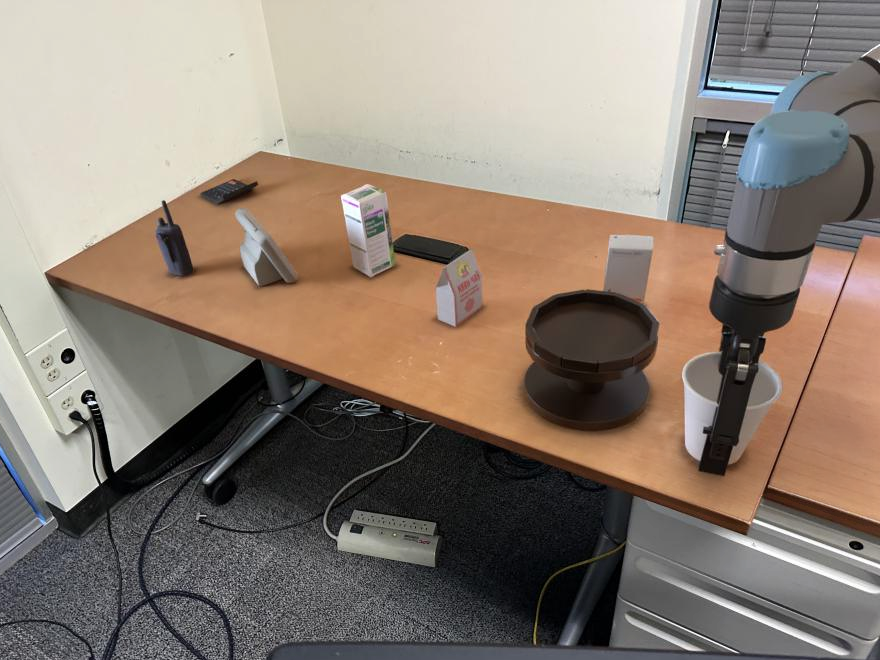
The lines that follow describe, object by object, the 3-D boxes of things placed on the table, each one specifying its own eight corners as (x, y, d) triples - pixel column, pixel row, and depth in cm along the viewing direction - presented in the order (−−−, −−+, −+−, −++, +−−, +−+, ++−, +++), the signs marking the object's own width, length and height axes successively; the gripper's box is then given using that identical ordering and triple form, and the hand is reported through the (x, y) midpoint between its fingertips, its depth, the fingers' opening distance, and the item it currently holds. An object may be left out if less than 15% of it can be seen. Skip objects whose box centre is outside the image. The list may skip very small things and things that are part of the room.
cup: (671, 476, 79) (687, 405, 72) (664, 418, 87) (677, 349, 80) (766, 484, 77) (792, 411, 70) (750, 423, 84) (772, 352, 77)
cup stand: (654, 363, 95) (666, 296, 88) (639, 442, 84) (651, 372, 77) (538, 347, 101) (541, 283, 94) (511, 418, 90) (511, 351, 83)
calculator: (234, 182, 166) (231, 170, 164) (260, 193, 158) (257, 181, 156) (201, 196, 161) (197, 184, 160) (226, 208, 154) (223, 196, 152)
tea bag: (437, 319, 110) (433, 264, 104) (464, 300, 113) (462, 246, 107) (455, 326, 108) (452, 271, 101) (482, 307, 111) (481, 252, 105)
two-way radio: (198, 269, 133) (174, 197, 124) (185, 281, 130) (159, 208, 121) (176, 266, 136) (151, 195, 126) (162, 278, 133) (135, 206, 123)
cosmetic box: (600, 317, 105) (607, 247, 97) (602, 302, 108) (609, 233, 100) (642, 320, 103) (653, 249, 95) (643, 304, 106) (653, 235, 98)
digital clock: (300, 285, 124) (289, 232, 117) (251, 297, 123) (237, 244, 116) (286, 246, 136) (274, 196, 130) (241, 257, 135) (228, 206, 128)
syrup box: (371, 278, 122) (360, 202, 113) (352, 267, 126) (340, 193, 117) (396, 266, 125) (387, 190, 116) (376, 255, 129) (366, 182, 120)
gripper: (720, 226, 76) (686, 384, 90) (709, 336, 61) (670, 502, 76) (798, 232, 73) (750, 393, 87) (805, 348, 58) (747, 519, 73)
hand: (713, 444), depth 81 cm, fingers closed on cup, 8 cm apart
